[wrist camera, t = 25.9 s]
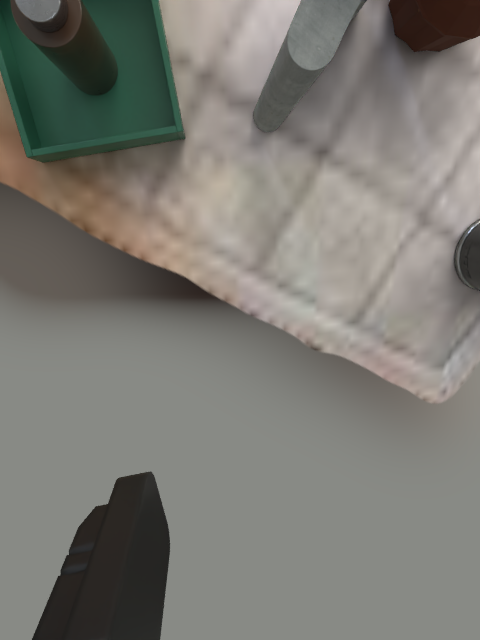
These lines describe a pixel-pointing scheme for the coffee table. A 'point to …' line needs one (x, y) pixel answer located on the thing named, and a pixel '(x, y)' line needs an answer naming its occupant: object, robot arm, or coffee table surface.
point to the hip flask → (303, 57)
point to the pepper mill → (68, 41)
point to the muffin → (435, 22)
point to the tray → (93, 110)
